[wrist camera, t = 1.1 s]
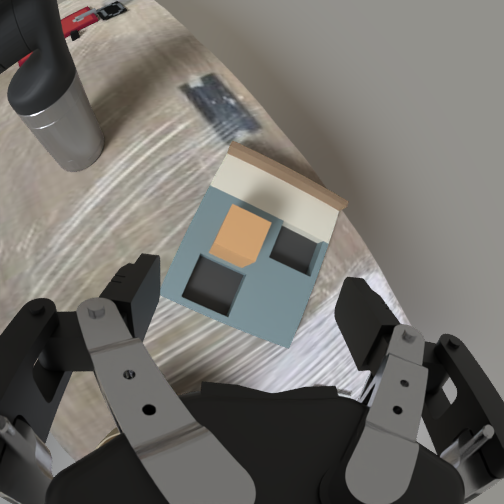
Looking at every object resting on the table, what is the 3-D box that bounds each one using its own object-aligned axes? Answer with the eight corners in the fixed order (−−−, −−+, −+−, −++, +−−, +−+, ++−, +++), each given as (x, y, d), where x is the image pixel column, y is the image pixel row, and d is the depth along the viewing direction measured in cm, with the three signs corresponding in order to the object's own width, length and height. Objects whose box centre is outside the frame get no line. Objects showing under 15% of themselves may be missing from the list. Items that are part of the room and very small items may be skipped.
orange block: (208, 252, 38) (214, 242, 31) (223, 220, 39) (232, 203, 32) (241, 268, 39) (255, 262, 31) (255, 235, 40) (271, 222, 32)
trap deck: (159, 293, 38) (156, 294, 34) (227, 155, 44) (232, 140, 39) (283, 345, 41) (295, 351, 37) (333, 209, 47) (348, 201, 42)
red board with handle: (130, 15, 44) (112, -1, 44) (129, 7, 41) (111, -8, 41) (22, 75, 36) (17, 51, 36) (18, 68, 34) (14, 45, 34)
